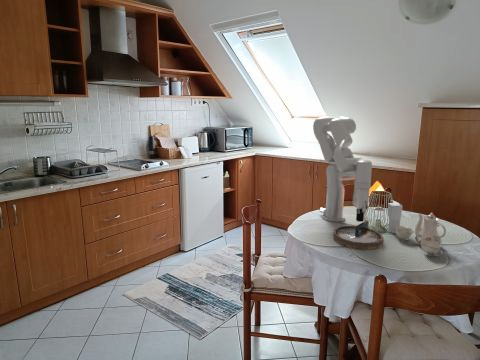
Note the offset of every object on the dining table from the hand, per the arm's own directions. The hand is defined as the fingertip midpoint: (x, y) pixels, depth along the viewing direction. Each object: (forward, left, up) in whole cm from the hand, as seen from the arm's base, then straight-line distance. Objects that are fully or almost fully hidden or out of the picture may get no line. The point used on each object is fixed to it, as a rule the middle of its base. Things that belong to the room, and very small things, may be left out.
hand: (359, 220), depth 179 cm
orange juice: (-6, +34, -7) cm, 35 cm away
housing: (+3, -8, -7) cm, 11 cm away
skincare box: (+9, +17, -7) cm, 21 cm away
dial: (+3, -8, -6) cm, 10 cm away
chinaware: (+28, +7, -7) cm, 30 cm away
